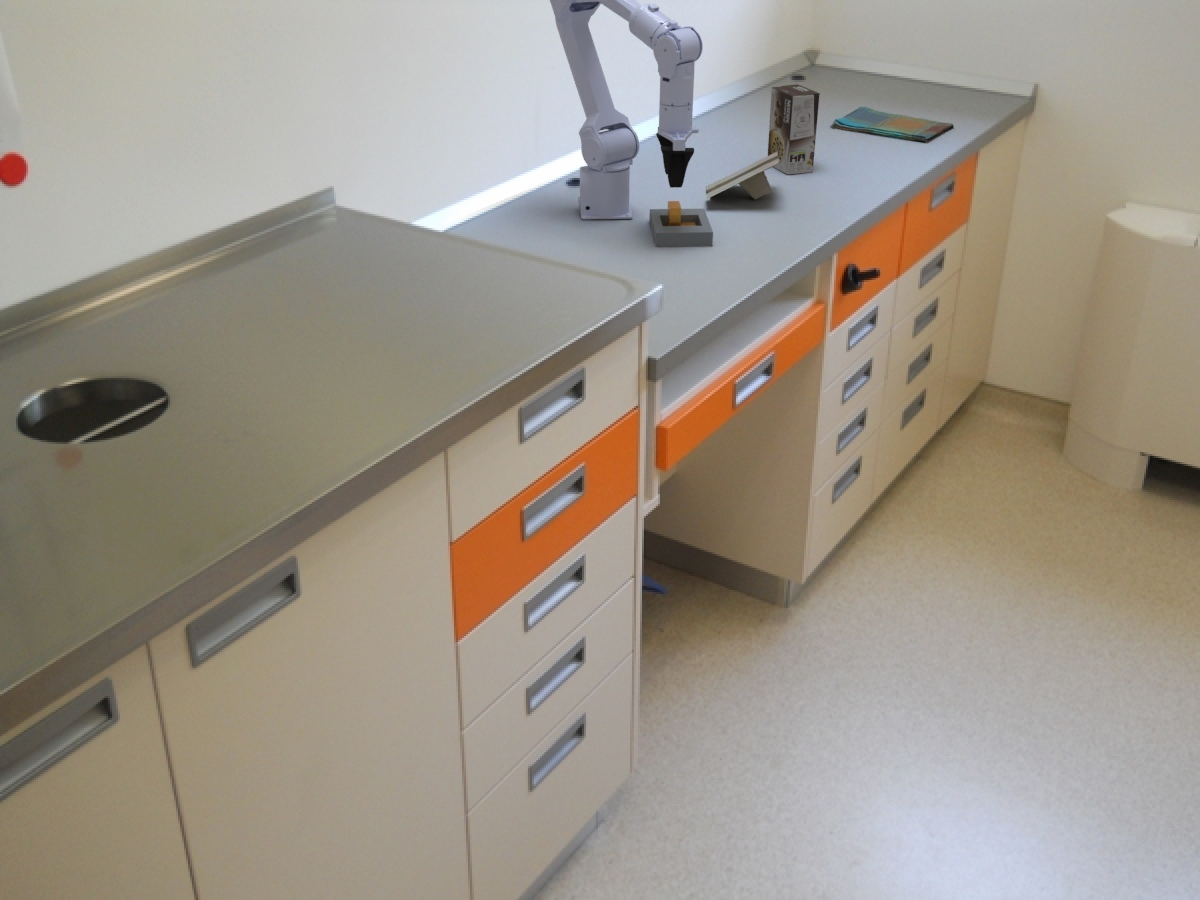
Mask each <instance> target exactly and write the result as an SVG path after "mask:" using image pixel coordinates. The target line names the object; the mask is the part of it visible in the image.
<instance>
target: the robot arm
mask: <svg viewBox="0 0 1200 900" xmlns="http://www.w3.org/2000/svg"><path fill="white" fill-rule="evenodd" d="M549 2H550V5H551V8H552V12H553V14H554V19H555V20H554V21H555V25H556V28H557V32H558V34H559V37H560V41H561V43H562V46H563V47H562V48H563V49H564V52H565V53H564V54H565V57H566V60H567V63H568V65H569V68H570V72H571V76H572V78H573V81H574V85H575V87H576V90H577V92H578V96H579V99H580V103H581V106H582V109H583V113H584V115H585V118H586V119H585V121H584V122H583V124H582V126H581V128H580V129H579V131H578V136H579V138H580V144H581V155H582V159H583V160H584V163H585V164H586V165H587V166H586V165H585V166H580V167H579V196H578V200H577V201H578V202H577V203H578V207H579V211H580V219H582V220H628V219H629V220H631V219H633V211H632V208H631V204H630V176H631V175H630V173H631V171H630V170H631V165H632V166H633V163H634V161H633V160H634V159H635V158H636V157H637V156H638V153H639V151H640V139H639V136H638V135H637V132H636V131H635V130H634V128H633V127H632V125H631V124H630V120H629V117H628V116H626V115H625V114H624V113H622V112H620V111H618V110H617V109H616V108H615V105H614V101H613V99H612V95H611V93H610V89H609V86H608V83H607V79H606V76H605V74H604V70H603V68H602V63H601V62H600V59H599V54H598V52H597V48H596V46H595V42H594V39H593V36H592V34H591V31H590V28H589V23H590V20H591V18H592V16H594V15H595V13H596V12H597V10H598V9H599V7H600V6H601V5H603V6H605V8H607V9H608V10H610V11H611V12H613V13H615V15H617V16H619V17H620V18H622V19H623V20H625V21H626V22H628V30H629V31H630V33H631V34H632V35H634V37H636V38H637V39H638V40H639V41H641V42H643V43H644V45H646V46H647V47H648V48H650V50H652V52H653V56H654V59H655V61H656V64H657V73H658V75H659V104H658V105H659V106H658V107H659V108H658V109H659V110H658V127H657V132H656V134H655V137H656V138H657V140H658V142H659V145H660V151H661V154H662V161H663V162H662V163H663V168H664V172H665V175H667V181H668V184H669V185H668V186H669V188H682V187H683V184H684V182H685V181H684V180H685V177H686V172H687V168H688V166H689V163H690V160H691V159H692V157H693V156H694V153H695V148H694V147H686V142H687V140H688V139H689V138H690V137H691V136H692V135H693V134H699V132H700V129H699V127H698V126H694V125H693V111H694V110H693V107H694V88H695V86H694V85H695V63H696V62H697V61H698V60H699V59H700V57H701V56H702V54H703V49H704V48H703V40H702V38H701V35H700V33H699V32H698V31H697V30H696V29H695V27H693V26H690V25H688V26H682V25H680V24H678V22H677V21H676V20H675V19H671V18H670V17H669V16H667V15H666V14H665V13H663V12H662V11H661V10H660V6H659V5H657V4H656V3H653V4H652V3H644V4H643V3H642V4H640V3H639V2H638V0H549Z"/></svg>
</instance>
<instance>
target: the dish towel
mask: <svg viewBox="0 0 1200 900" xmlns="http://www.w3.org/2000/svg"><path fill="white" fill-rule="evenodd" d="M830 128H832V129H834V130H839V131H847V132H856V133H862V134H869V135H874V136H881V137H886V138H890V139H891V138H893V139H897V140H904V141H909V142H915V143H922V144H923V143H924V144H928V143H930V142H932V141H933V140H935V139H937V138H939V137H941V136H943V135H944V134H945V133H948V132H949V131H951V130H953V129H954V128H955V126H954V124H953V123H952V122H951V123H949V122H942V121H938V120H937V121H936V120H932V119H928V118H927V119H926V118H921V117H916V116H911V115H910V116H909V115H903V114H898V113H896V114H895V113H888V112H885V111H879V110H876V109H873V108H870V107H868V106H859V107H857V108H856V109H854V111H851V112H849V113H847V114H846V115H845V116H843V117H841V118H840V117H839V118H835V119H834V120H833V122H832V124H831V125H830Z"/></svg>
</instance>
